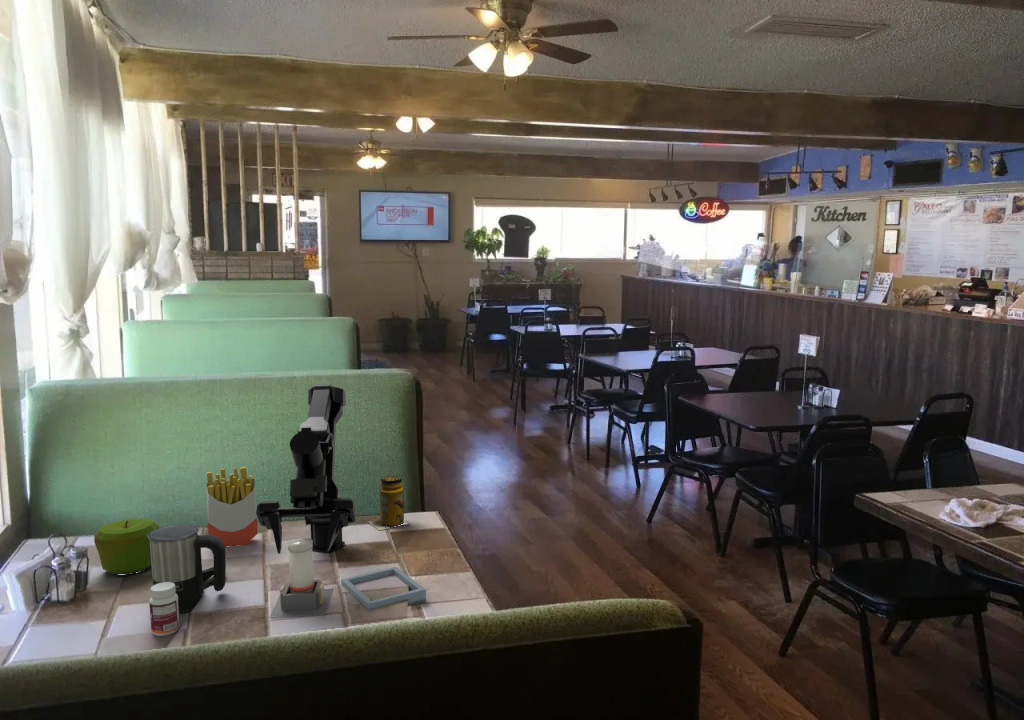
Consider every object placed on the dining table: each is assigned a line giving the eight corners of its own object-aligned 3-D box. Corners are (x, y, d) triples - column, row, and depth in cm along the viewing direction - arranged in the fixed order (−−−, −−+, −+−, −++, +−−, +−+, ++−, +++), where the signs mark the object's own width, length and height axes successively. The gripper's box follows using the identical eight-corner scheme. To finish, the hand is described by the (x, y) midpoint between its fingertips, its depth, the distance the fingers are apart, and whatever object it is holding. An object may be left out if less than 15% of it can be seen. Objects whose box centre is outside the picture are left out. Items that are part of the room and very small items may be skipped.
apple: (156, 555, 177) (153, 507, 175) (165, 572, 166) (162, 521, 165) (94, 567, 170) (90, 517, 168) (100, 585, 160) (96, 533, 158)
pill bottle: (156, 625, 142) (154, 581, 141) (183, 624, 142) (181, 580, 141) (147, 637, 137) (144, 592, 136) (174, 636, 137) (171, 591, 136)
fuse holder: (282, 598, 153) (281, 575, 152) (333, 595, 154) (332, 573, 153) (269, 625, 141) (268, 601, 140) (325, 622, 142) (324, 598, 141)
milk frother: (152, 619, 144) (147, 543, 142) (149, 588, 158) (145, 518, 156) (233, 604, 150) (229, 530, 149) (222, 576, 164) (219, 508, 163)
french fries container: (258, 544, 183) (254, 470, 181) (209, 549, 180) (205, 474, 178) (257, 537, 188) (254, 465, 185) (209, 543, 184) (205, 469, 182)
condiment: (410, 524, 197) (409, 478, 195) (379, 531, 192) (378, 484, 191) (398, 517, 203) (396, 472, 202) (367, 523, 198) (366, 477, 197)
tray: (341, 591, 156) (341, 579, 156) (395, 577, 163) (395, 566, 162) (368, 616, 144) (368, 604, 144) (425, 601, 151) (425, 589, 151)
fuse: (292, 598, 149) (289, 538, 148) (316, 596, 150) (314, 537, 148) (288, 608, 145) (285, 546, 143) (313, 607, 145) (310, 545, 144)
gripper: (256, 462, 151) (245, 535, 142) (352, 459, 153) (348, 530, 144) (266, 490, 160) (256, 560, 150) (357, 487, 162) (353, 556, 152)
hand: (303, 551), depth 149 cm, fingers open, 9 cm apart
